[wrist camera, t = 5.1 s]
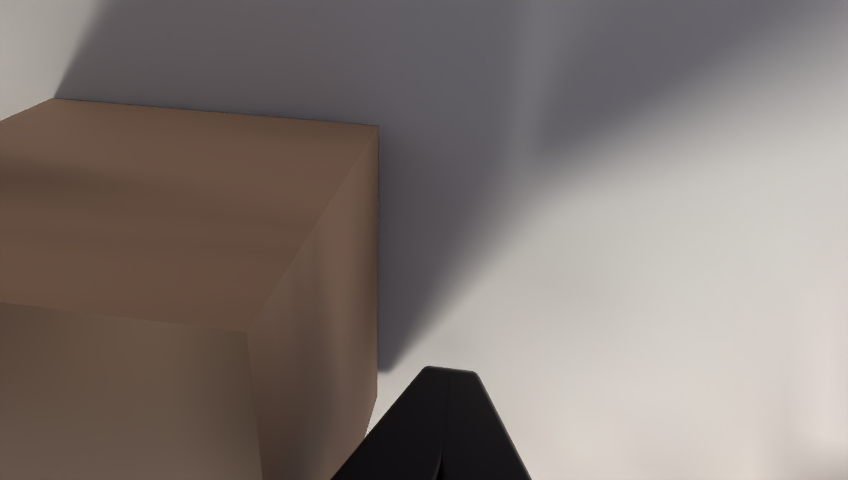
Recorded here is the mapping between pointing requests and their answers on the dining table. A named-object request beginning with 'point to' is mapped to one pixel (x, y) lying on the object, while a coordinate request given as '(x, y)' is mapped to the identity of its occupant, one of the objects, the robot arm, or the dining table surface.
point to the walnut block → (185, 293)
